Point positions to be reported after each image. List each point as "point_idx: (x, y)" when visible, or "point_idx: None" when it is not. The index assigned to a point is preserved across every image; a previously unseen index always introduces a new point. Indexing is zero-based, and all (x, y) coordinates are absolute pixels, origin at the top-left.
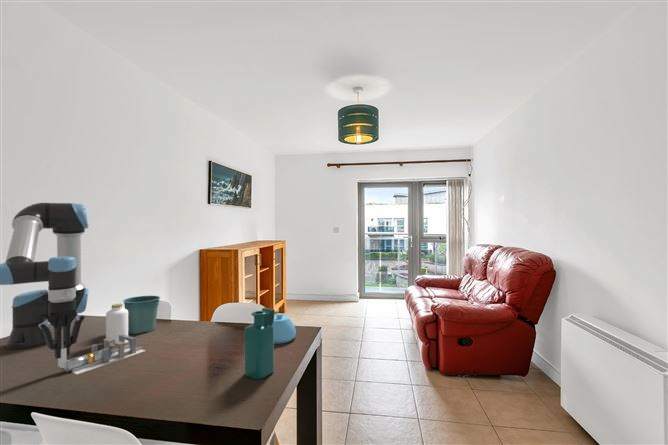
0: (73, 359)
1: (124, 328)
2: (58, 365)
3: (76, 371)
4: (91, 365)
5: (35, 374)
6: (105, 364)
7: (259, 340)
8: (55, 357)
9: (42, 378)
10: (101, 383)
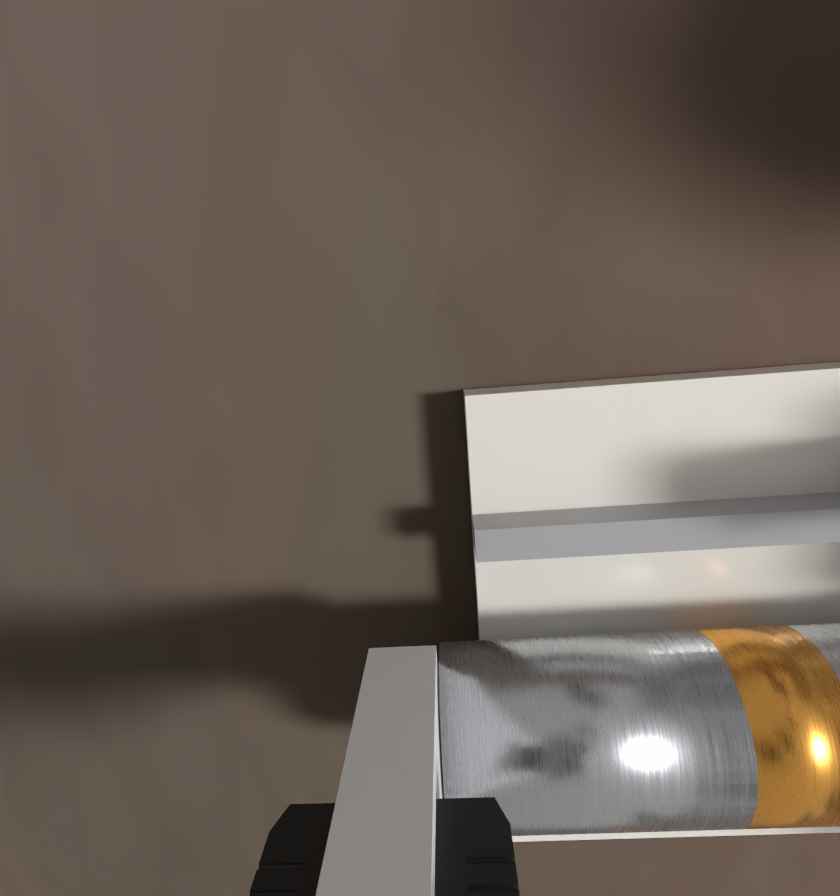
0: (541, 823)
1: None
2: (368, 667)
3: None
4: None
5: (201, 295)
6: (816, 831)
7: None
8: (279, 840)
9: (239, 529)
10: None
